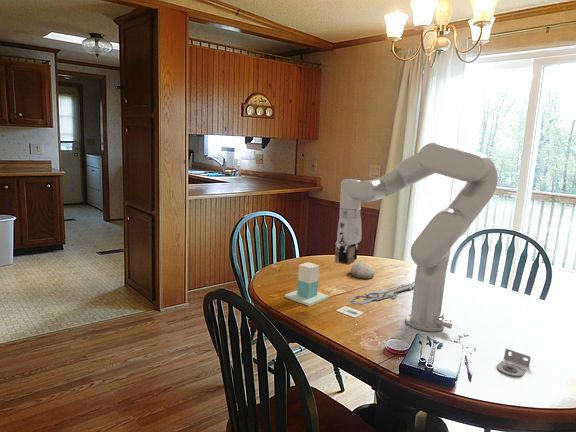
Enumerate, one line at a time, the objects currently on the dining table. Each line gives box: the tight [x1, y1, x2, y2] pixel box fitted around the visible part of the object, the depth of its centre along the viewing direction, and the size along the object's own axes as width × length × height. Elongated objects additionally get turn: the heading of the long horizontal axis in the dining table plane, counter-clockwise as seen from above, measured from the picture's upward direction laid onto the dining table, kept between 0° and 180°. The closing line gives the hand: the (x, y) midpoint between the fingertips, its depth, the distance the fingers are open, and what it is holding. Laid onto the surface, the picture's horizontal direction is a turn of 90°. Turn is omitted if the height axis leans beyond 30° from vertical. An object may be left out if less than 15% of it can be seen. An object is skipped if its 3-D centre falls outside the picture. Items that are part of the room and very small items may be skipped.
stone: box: [350, 260, 376, 280], centre depth 195 cm, size 13×10×8 cm
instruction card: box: [335, 305, 365, 319], centre depth 151 cm, size 8×6×1 cm
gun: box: [348, 281, 415, 305], centre depth 171 cm, size 39×2×10 cm
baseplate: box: [284, 289, 330, 307], centre depth 163 cm, size 12×12×1 cm
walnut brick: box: [334, 245, 356, 266], centre depth 159 cm, size 6×6×6 cm
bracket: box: [496, 348, 532, 377], centre depth 118 cm, size 7×10×4 cm, turn 138°
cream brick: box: [297, 261, 320, 284], centre depth 161 cm, size 6×6×6 cm
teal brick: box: [296, 279, 319, 299], centre depth 162 cm, size 6×6×6 cm
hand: (347, 260), depth 158 cm, fingers closed on walnut brick, 5 cm apart
